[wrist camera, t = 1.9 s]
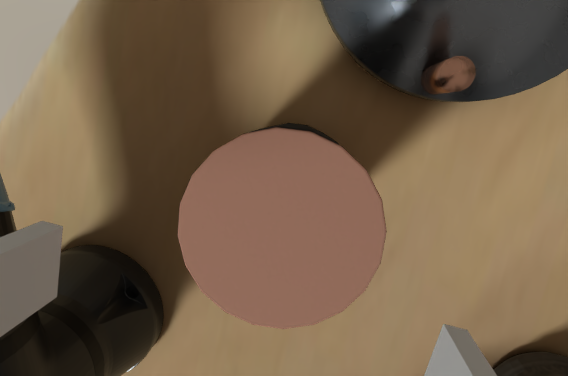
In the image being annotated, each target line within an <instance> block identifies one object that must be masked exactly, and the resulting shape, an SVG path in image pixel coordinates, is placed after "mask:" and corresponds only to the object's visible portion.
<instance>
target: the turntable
mask: <svg viewBox="0 0 568 376" xmlns="http://www.w3.org/2000/svg"><path fill="white" fill-rule="evenodd" d="M320 1H321V4H322V7H323V10H324V13H325V15H326V17H327V19H328V21H329V24H330V26H331V28H332V30H333V32H334V33H335V35H336V36H337V38H338V39H339V41H340V42H341V44H342V45H343V47H344V48H345V49H346V51H347V52H348V53H349V54H350V55H351V56H352V57H353V58H354V60H355V61H356V62H357V63H358V64H359V65H361V66H362V67H363V68H364V69H365V70H366V71H368V72H369V73H370V74H371V75H372V76H374V77H376V78H377V79H379V80H380V81H382V82H383V83H385V84H387V85H388V86H391V87H393V88H395V89H397V90H399V91H402V92H404V93H406V94H410V95H413V96H416V97H420V98H423V99H430V100H436V101H444V102H469V101H480V100H489V99H495V98H500V97H504V96H508V95H512V94H516V93H519V92H521V91H524V90H527V89H530V88H532V87H535V86H537V85H539V84H541V83H543V82H545V81H547V80H549V79H551V78H553V77H555V76H557V75H559V74H560V73H562V72H563V71H565V70H567V69H568V0H320Z"/></svg>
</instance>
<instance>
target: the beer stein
mask: <svg viewBox="0 0 568 376" xmlns="http://www.w3.org/2000/svg"><path fill="white" fill-rule="evenodd" d="M494 372H495V373H496V375H497V376H568V358H567V357H565V356H561V355H557V354H553V353H549V352H532V353H524V354H520V355H517V356H514V357H511V358H509V359H507V360H506V361H504V362H503V363H501V364H500V365H499V366H498V367H496V368H495V369H494Z"/></svg>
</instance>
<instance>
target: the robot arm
mask: <svg viewBox="0 0 568 376" xmlns="http://www.w3.org/2000/svg"><path fill="white" fill-rule="evenodd" d="M13 210H15V206H14V204H13V203H12V202H11V201H9V198H8V195H7V192H6V189H5V186H4V183H3V180H2V177H1V174H0V376H121V375H122V374H124V373H125V372H127V371H129V370H131V369H132V368H134V367H135V366H136V365H138V364H139V363H140V362H141V361H142V360H143V359H144V358H145V356H146V355H147V354H148V352H149V351H150V350H151V348H152V347H153V345H154V344H155V342H156V341H157V339H158V337H159V335H160V332H161V329H162V324H163V306H162V301H161V298H160V295H159V292H158V290H157V288H156V286H155V284H154V282H153V281H152V279H151V278H150V276H149V275H148V274H147V273H146V271H145V270H144V269H143V268H142V267H141V266H140V265H139V264H137V263H136V262H135V261H134V260H132V259H131V258H129V257H128V256H126V255H124V254H123V253H121V252H118V251H116V250H113V249H110V248H107V247H103V246H95V245H84V246H77V247H73V248H70V249H68V250H65V251H63V252H62V253H61V242H62V230H63V226H60V225H56V224H52V223H48V222H44V221H40V222H38V223H35V224H33V225H30V226H28V227H25V228H23V229H20V230H18V231H17V230H16V226H15V223H14V219H13V215H12V211H13ZM424 376H497V375H496V373H495V372H494V370H493V369H492V367H491V366H490V364H489V363H488V361H487V360H486V358H485V357H484V355H483V353H482V352H481V350H480V349H479V347H478V346H477V344H476V343H475V341H474V340H473V338H472V337H471V335H470V334H469V332H468V331H467V330H465V329H461V328H458V327H454V326H450V325H446V324H443V326H442V329H441V332H440V334H439V337H438V340H437V342H436V345H435V348H434V351H433V353H432V356H431V359H430V361H429V364H428V367H427V369H426V372H425V375H424Z"/></svg>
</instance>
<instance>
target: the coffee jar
mask: <svg viewBox="0 0 568 376" xmlns="http://www.w3.org/2000/svg"><path fill="white" fill-rule="evenodd" d="M386 232H387V231H386V224H385V217H384V211H383V204H382V199H381V197H380V195H379V193H378V191H377V189H376V187H375V185H374V183H373V181H372V180H371V178H370V176H369V174H368V172H367V170H366V169H365V168H364V167H363V166H362V165H361V164H360V163H359V162H358V161H357V160H356V159H355V158H354V157H352V156H351V155H350V154H349V153H348V152H347V151H346V150H345V149H344V148H343V147H342V146H340V145H339V144H338V143H337V142H335V141H334V140H332V139H331V138H330V137H328V136H327V135H325V134H324V133H322V132H320V131H318V130H316V129H314V128H312V127H309V126H307V125H301V124H293V123H286V124H281V125H276V126H271V127H267V128H263V129H259V130H255V131H251V132H249V133H245V134H242V135H240V136H238V137H236V138H235V139H233V140H231V141H229V142H228V143H226V144H224V145H222V146H221V147H219V148H217V149H215V150H214V151H213V152H212V153H211V154H210V155H209V156H208V157H207V158H206V160H205V161H204V162H203V163H202V164H201V165H200V166H199V167H198V169H197V170H196V171H195V172H194V173H193V174H192V176H191V179H190V181H189V183H188V186H187V188H186V190H185V193H184V195H183V198H182V200H181V202H180V209H179V223H178V239H179V243H180V247H181V251H182V255H183V258H184V262H185V266H186V267H187V269H188V271H189V272H190V274H191V275H192V277H193V279H194V280H195V282H196V283H197V285H198V287H199V288H200V290H201V291H202V292H203V293H204V294H205V295H206V296H207V297H208V298H210V299H211V300H212V301H213V302H214V303H215V304H216V305H218V306H219V307H220V308H221V309H222V310H223V311H225V312H226V313H229V314H231V315H233V316H235V317H237V318H240V319H242V320H244V321H246V322H248V323H251V324H253V325H259V326H266V327H273V328H281V329H287V328H294V327H301V326H307V325H314V324H317V323H319V322H321V321H323V320H325V319H327V318H329V317H331V316H334V315H336V314H338V313H340V312H342V311H343V310H344V309H346V308H347V307H348V306H349V305H350V304H351V303H352V302H353V301H354V300H355V299H356V298H358V297H359V296H360V295H361V294H362V293H363V292H364V291H365V290H366V288H367V286H368V285H369V283H370V281H371V279H372V277H373V276H374V274H375V272H376V270H377V269H378V267H379V265H380V263H381V259H382V253H383V248H384V243H385V237H386Z"/></svg>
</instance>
